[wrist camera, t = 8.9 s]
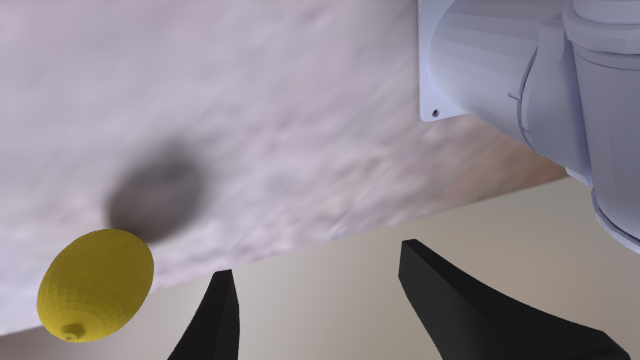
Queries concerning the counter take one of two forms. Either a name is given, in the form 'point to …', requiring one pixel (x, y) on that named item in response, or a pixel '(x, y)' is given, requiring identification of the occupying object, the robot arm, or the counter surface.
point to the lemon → (95, 285)
